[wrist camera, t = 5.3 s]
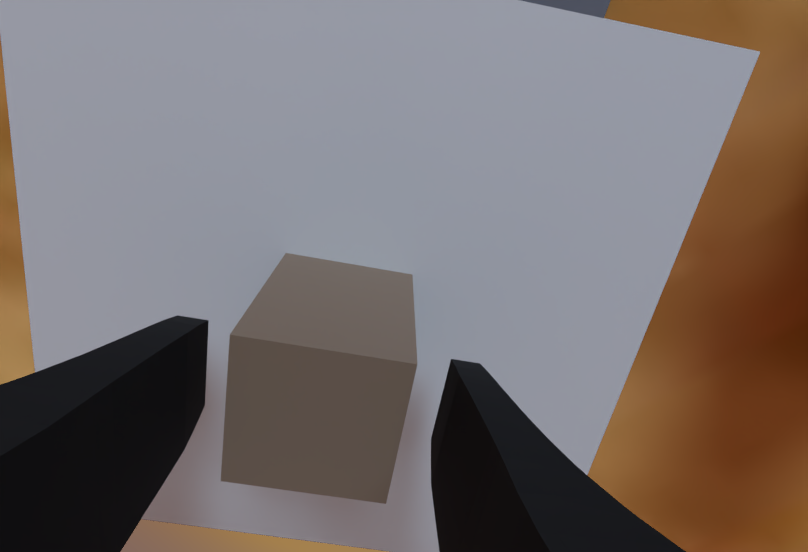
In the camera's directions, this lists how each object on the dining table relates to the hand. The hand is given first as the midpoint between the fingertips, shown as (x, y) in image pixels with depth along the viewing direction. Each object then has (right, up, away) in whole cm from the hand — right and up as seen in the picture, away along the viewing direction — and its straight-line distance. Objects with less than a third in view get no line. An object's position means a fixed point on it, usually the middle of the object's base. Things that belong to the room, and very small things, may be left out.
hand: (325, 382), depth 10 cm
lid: (0, +1, +3) cm, 3 cm away
